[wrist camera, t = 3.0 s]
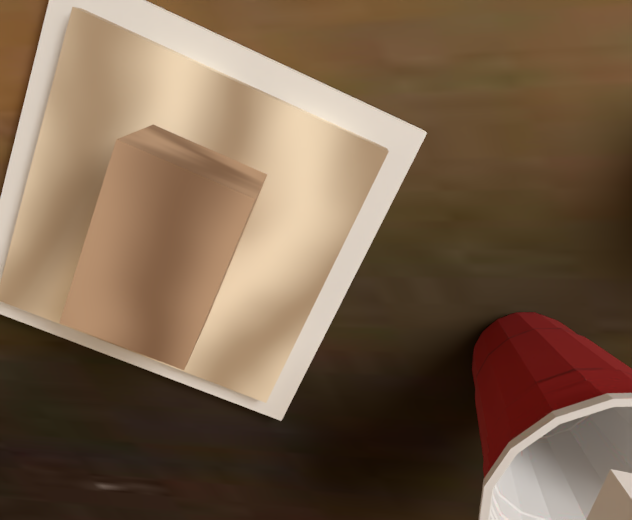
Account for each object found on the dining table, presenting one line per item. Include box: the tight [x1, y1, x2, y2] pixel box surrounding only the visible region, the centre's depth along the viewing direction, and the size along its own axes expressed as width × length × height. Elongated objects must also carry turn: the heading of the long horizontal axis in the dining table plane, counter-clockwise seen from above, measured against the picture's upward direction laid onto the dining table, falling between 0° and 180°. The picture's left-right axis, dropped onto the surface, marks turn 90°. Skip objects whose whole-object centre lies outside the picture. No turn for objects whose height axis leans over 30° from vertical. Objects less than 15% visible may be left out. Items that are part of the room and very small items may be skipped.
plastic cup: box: [472, 312, 632, 520], centre depth 28 cm, size 11×11×12 cm
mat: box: [0, 0, 427, 421], centre depth 30 cm, size 19×19×1 cm
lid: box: [0, 7, 389, 403], centre depth 27 cm, size 16×16×6 cm
